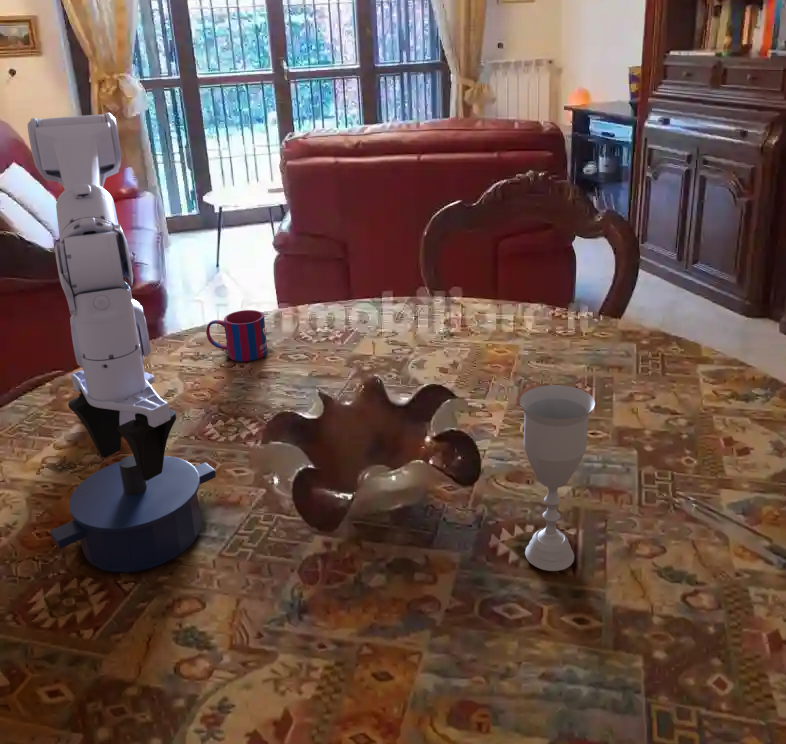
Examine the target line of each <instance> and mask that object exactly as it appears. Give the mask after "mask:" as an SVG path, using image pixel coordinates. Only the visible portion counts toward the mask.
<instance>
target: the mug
mask: <svg viewBox="0 0 786 744" xmlns="http://www.w3.org/2000/svg"><path fill="white" fill-rule="evenodd" d="M214 324H215V325H220V326H221V327H223V328H224V331H225V332H224V333H225V340H226V341H225V342H226V344H223V343H222V344H221V343H218V342H217V341H215V340H214V339H213V337H212V335H211V332H210V331H211V330H210V329H211V326H212V325H214ZM205 330H206V331H205V332H206V338H207V341H208V342H209V343H210V344H211V345H212V346H214V347H216V348H217V349H220V350H225V351H227V356H228V358H229V359H230V360H232V361H235V362H251V361H252V362H253V361H257V360H259V359H263V357H265V356H266V355H267V354H268V341H267V340H268V339H267V332H266V331H267V330H266V320H265V314H264V312H262V311H259V310H254V309H243V310H236V311H233V312H231V313H229V314H227V315H225V316H224V318H223V320H221V319H214V320H210V321H209V323H207V325H206V329H205Z"/></svg>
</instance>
